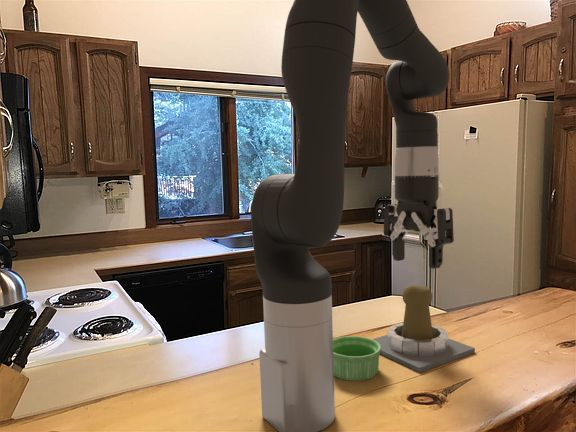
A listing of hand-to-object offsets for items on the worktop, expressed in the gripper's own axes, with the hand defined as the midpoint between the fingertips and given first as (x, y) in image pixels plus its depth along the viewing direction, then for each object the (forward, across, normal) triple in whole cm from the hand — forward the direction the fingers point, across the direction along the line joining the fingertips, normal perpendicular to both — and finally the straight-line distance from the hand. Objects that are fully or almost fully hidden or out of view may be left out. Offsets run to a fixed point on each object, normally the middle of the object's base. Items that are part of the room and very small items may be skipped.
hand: (416, 263), depth 84 cm
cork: (+15, 0, 0) cm, 15 cm away
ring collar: (+16, 0, 0) cm, 16 cm away
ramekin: (+16, 0, -15) cm, 22 cm away
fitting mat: (+16, 0, 0) cm, 16 cm away
